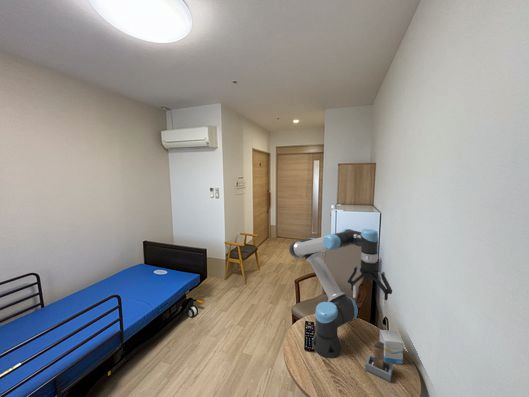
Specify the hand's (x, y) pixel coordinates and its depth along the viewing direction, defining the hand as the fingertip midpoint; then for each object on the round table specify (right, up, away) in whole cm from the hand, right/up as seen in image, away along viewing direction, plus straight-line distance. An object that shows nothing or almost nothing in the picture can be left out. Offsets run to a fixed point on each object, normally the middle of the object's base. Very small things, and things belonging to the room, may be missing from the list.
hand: (368, 301), depth 107 cm
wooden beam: (+2, -30, -6) cm, 31 cm away
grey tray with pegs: (+2, -31, -5) cm, 32 cm away
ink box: (+13, -31, +3) cm, 33 cm away
